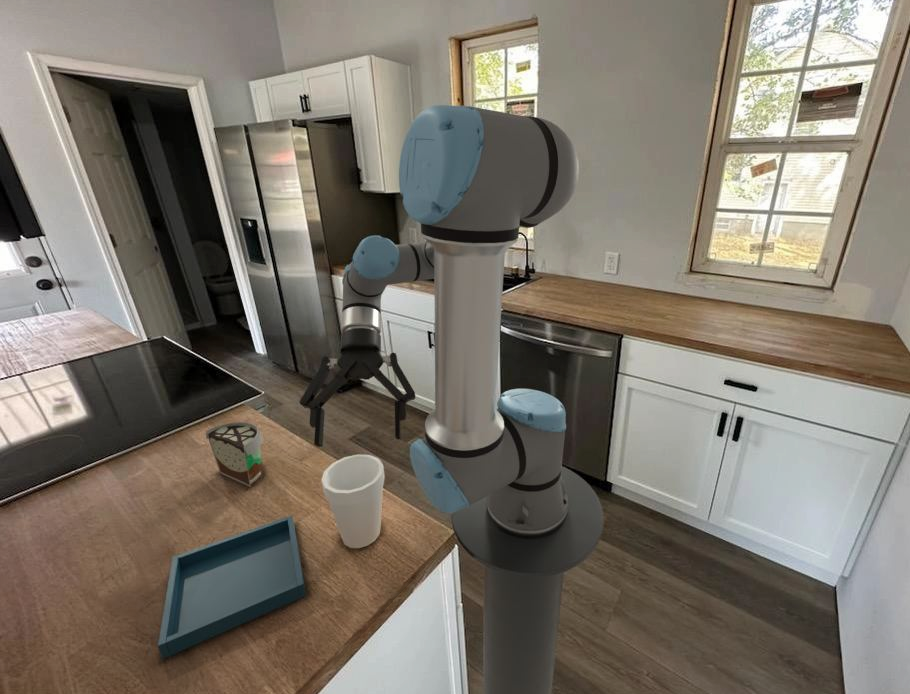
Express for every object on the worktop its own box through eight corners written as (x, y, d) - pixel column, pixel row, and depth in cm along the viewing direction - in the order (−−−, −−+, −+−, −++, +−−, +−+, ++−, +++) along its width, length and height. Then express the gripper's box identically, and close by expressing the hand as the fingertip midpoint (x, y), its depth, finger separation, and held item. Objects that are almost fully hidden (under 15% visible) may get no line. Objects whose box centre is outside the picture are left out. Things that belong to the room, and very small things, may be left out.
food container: (283, 470, 86) (275, 430, 82) (255, 489, 80) (245, 446, 77) (244, 454, 90) (234, 415, 87) (215, 471, 85) (204, 430, 81)
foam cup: (400, 525, 73) (395, 465, 69) (361, 565, 65) (351, 501, 61) (361, 505, 77) (354, 448, 73) (320, 541, 69) (308, 479, 65)
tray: (294, 525, 72) (292, 514, 71) (306, 595, 61) (303, 583, 60) (176, 568, 64) (171, 556, 63) (162, 659, 52) (157, 646, 51)
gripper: (425, 338, 88) (429, 438, 80) (299, 344, 83) (290, 451, 75) (424, 323, 81) (429, 430, 73) (287, 329, 76) (275, 445, 68)
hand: (359, 441), depth 74 cm, fingers open, 13 cm apart
